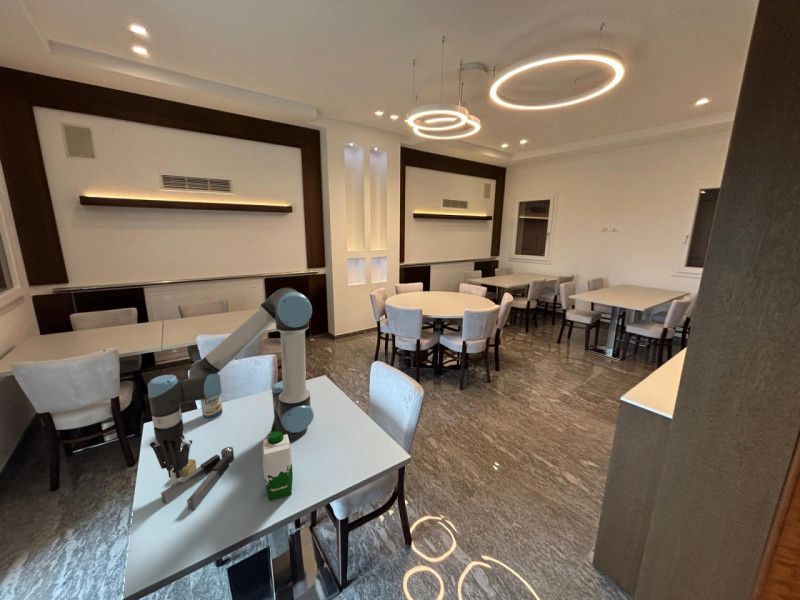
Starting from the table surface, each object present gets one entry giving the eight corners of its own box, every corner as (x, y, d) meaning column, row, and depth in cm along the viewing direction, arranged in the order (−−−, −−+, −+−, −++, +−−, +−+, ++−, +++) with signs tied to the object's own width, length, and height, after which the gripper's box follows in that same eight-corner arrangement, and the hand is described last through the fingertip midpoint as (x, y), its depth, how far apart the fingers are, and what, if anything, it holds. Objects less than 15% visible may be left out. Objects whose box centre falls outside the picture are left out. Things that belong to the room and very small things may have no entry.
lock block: (196, 468, 115) (194, 457, 114) (189, 477, 111) (187, 465, 110) (186, 468, 115) (184, 457, 114) (178, 476, 111) (176, 465, 110)
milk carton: (292, 477, 112) (288, 427, 107) (294, 496, 103) (290, 443, 99) (265, 484, 108) (260, 433, 104) (266, 505, 100) (260, 450, 96)
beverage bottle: (218, 408, 154) (213, 371, 150) (226, 414, 149) (221, 375, 145) (199, 416, 148) (194, 377, 143) (207, 422, 143) (202, 382, 139)
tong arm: (217, 463, 117) (216, 454, 117) (221, 465, 117) (219, 455, 116) (162, 502, 100) (160, 491, 100) (166, 504, 100) (164, 493, 99)
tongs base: (226, 456, 121) (224, 445, 120) (236, 456, 121) (235, 445, 120) (181, 509, 98) (179, 496, 97) (194, 510, 98) (192, 497, 97)
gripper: (138, 428, 97) (149, 493, 102) (179, 430, 97) (188, 495, 102) (158, 415, 105) (167, 475, 109) (195, 417, 104) (203, 477, 109)
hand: (177, 485), depth 105 cm, fingers closed
